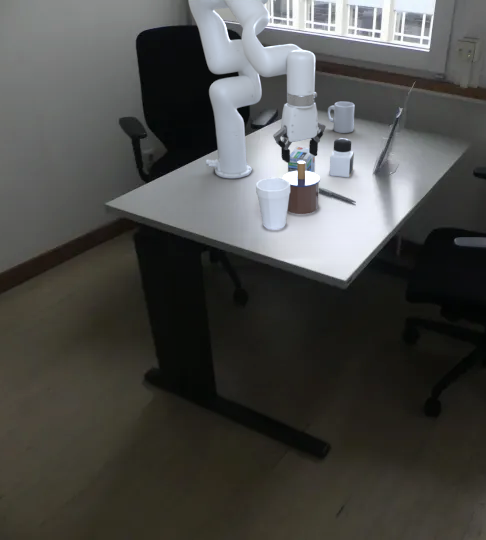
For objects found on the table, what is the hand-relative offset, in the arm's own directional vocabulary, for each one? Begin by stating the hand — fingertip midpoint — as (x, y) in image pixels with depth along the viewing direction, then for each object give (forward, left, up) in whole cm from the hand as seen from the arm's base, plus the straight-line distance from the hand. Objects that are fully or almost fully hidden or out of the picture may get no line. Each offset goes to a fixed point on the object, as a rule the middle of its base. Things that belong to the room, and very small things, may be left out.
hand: (299, 157), depth 155 cm
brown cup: (0, 0, -16) cm, 16 cm away
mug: (+16, +76, -16) cm, 79 cm away
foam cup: (-7, -12, -16) cm, 22 cm away
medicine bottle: (+14, +28, -16) cm, 35 cm away
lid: (0, -1, -7) cm, 7 cm away
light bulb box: (0, +19, -16) cm, 25 cm away
